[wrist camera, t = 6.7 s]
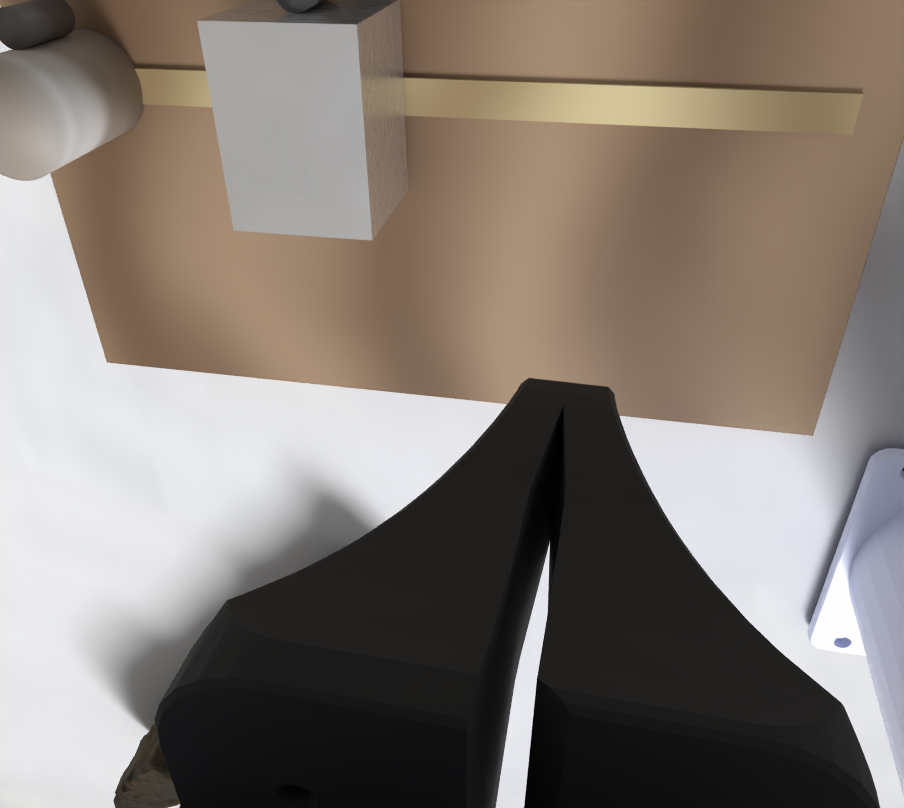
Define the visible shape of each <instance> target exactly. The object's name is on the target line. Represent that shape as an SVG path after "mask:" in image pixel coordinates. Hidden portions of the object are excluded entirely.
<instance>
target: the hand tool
mask: <svg viewBox="0 0 904 808" xmlns="http://www.w3.org/2000/svg"><path fill="white" fill-rule="evenodd" d="M115 793H116V796H115V798H114V804H115V808H168V807H172V806H176V805H179V804H180V802H179V799H178V796H177V794H176V791H175V788H174V785H173V782H172V779H171V776H170V773H169V771H168V768H167V765H166V762H165V759H164V756H163V753H162V751H161V748H160V745H159V742H158V739H157V732H156V725H153V726H152V727H151V730H150V731H149V732H148V734H147V735H145V736H144V737H143V738H142V740H141V741H140V744H139V747H138V749H137V752H136V754H135V756H134V757H133V759H132V760H131V762H130V764H129V766H128V767H127V769H126V770H125V771H124V773H123V775H122V777H121V779H120V781H119V784H118V786H117V789H116V792H115Z"/></svg>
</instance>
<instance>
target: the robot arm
mask: <svg viewBox="0 0 904 808" xmlns="http://www.w3.org/2000/svg"><path fill="white" fill-rule="evenodd" d="M903 468H904V449H897V448H886V449H883V450H880V451H877V452H876V453H875V454H873V455H872V456H871V458H870V459H869V461H868V464H867V467H866V470H865V472H864V475H863V478H862V481H861V483H860V486H859V489H858V492H857V495H856V497H855V500H854V503H853V506H852V508H851V511H850V514H849V517H848V520H847V522H846V525H845V528H844V531H843V533H842V536H841V539H840V542H839V544H838V547H837V550H836V553H835V556H834V558H833V561H832V564H831V567H830V569H829V572H828V575H827V578H826V580H825V583H824V586H823V589H822V592H821V594H820V597H819V600H818V603H817V605H816V608H815V611H814V614H813V617H812V619H811V622H810V625H809V628H808V637H809V641H810V643H811V644H812V645H813V646H815V647H816V648H820V649H824V650H831V651H837V652H844V653H851V654H858V655H865V656H866V658H867V661H868V665H869V669H870V672H871V676H872V680H873V684H874V687H875V691H876V695H877V698H878V702H879V706H880V709H881V713H882V717H883V721H884V724H885V728H886V732H887V735H888V739H889V743H890V747H891V750H892V754H893V758H894V761H895V765H896V769H897V772H898V776H899V780H900V784H901V787H902V791H903V795H904V471H902V469H903ZM549 542H550V561H549V592H548V616H547V622H546V628H545V634H544V640H543V646H542V653H541V659H540V665H539V671H538V677H537V686H536V696H535V706H534V716H533V726H532V736H531V746H530V756H529V766H528V776H527V786H526V796H525V806H524V808H880V806H879V801H878V796H877V792H876V788H875V785H874V782H873V779H872V775H871V772H870V769H869V767H868V764H867V762H866V759H865V756H864V754H863V751H862V748H861V746H860V743H859V741H858V738H857V736H856V734H855V731H854V729H853V726H852V724H851V722H850V719H849V717H848V715H847V713H846V710H845V708H844V706H843V705H842V703H841V702H840V701H838V700H837V699H836V698H835V697H834V696H832V695H831V694H830V693H829V692H828V691H826V690H825V689H824V688H823V687H822V686H820V685H819V684H818V683H817V682H816V681H814V680H813V679H812V678H811V677H810V676H808V675H807V674H806V673H805V672H804V671H802V670H801V669H800V668H799V667H798V666H796V665H795V664H794V663H793V662H792V661H790V660H789V659H788V658H787V657H785V656H784V655H783V654H782V653H781V652H780V651H779V650H778V649H777V648H775V647H774V646H773V645H772V644H771V643H770V642H769V641H768V640H767V639H766V638H765V637H764V636H763V635H762V634H761V633H760V632H759V631H758V630H757V629H756V628H755V627H754V626H753V625H752V624H751V623H750V622H749V621H748V620H747V619H746V618H745V617H744V616H743V615H742V614H741V613H740V611H739V610H738V609H737V608H736V607H735V606H734V605H733V604H732V603H731V601H730V600H729V599H728V598H727V597H726V596H725V595H724V594H723V593H722V591H721V590H720V589H719V588H718V587H717V586H716V585H715V584H714V582H713V581H712V580H711V579H710V577H709V576H708V575H707V574H706V572H705V571H704V570H703V568H702V567H701V566H700V564H699V563H698V562H697V561H696V559H695V558H694V557H693V555H692V554H691V553H690V551H689V550H688V548H687V547H686V545H685V544H684V543H683V541H682V540H681V538H680V537H679V535H678V534H677V532H676V531H675V529H674V528H673V526H672V525H671V523H670V522H669V520H668V518H667V517H666V515H665V513H664V512H663V510H662V508H661V507H660V505H659V503H658V501H657V499H656V498H655V496H654V494H653V492H652V491H651V489H650V487H649V485H648V483H647V481H646V479H645V477H644V475H643V473H642V471H641V469H640V466H639V464H638V462H637V460H636V458H635V456H634V454H633V451H632V449H631V447H630V444H629V442H628V439H627V437H626V434H625V431H624V428H623V426H622V423H621V420H620V417H619V413H618V410H617V405H616V401H615V394H614V393H613V392H612V390H611V389H610V388H609V387H606V386H597V385H588V384H579V383H571V382H562V381H553V380H544V379H535V378H528V379H526V380H525V381H524V382H522V383H521V384H520V386H519V388H518V389H517V391H516V392H515V394H514V395H513V397H512V398H511V400H510V401H509V403H508V404H507V405H506V407H505V408H504V409H503V410H502V412H501V413H500V414H499V416H498V417H497V418H496V419H495V421H494V422H493V423H492V424H491V425H490V426H489V428H488V429H487V430H486V431H485V432H484V433H483V434H482V435H481V437H480V438H479V439H478V440H477V441H476V442H475V443H474V445H473V446H472V447H471V448H470V449H469V450H468V451H467V452H466V453H465V454H464V455H463V456H462V457H461V458H460V459H459V460H458V461H457V462H456V463H455V464H454V465H453V466H452V467H451V468H450V469H449V470H448V471H447V472H446V473H445V474H444V475H443V476H442V477H440V478H439V479H438V480H437V481H436V482H435V483H434V484H433V485H431V486H430V487H429V488H428V489H427V490H426V491H424V492H423V493H422V494H421V495H420V496H418V497H417V498H416V499H415V500H413V501H412V502H411V503H410V504H408V505H407V506H406V507H404V508H403V509H402V510H400V511H399V512H398V513H396V514H395V515H394V516H392V517H391V518H389V519H388V520H386V521H385V522H383V523H382V524H381V525H379V526H378V527H376V528H375V529H373V530H372V531H370V532H369V533H367V534H366V535H364V536H363V537H361V538H359V539H358V540H356V541H355V542H353V543H351V544H350V545H348V546H346V547H344V548H342V549H341V550H339V551H337V552H335V553H333V554H331V555H330V556H328V557H326V558H324V559H322V560H320V561H318V562H316V563H314V564H312V565H310V566H308V567H306V568H304V569H302V570H300V571H298V572H295V573H293V574H291V575H289V576H286V577H284V578H282V579H279V580H277V581H274V582H272V583H270V584H267V585H265V586H262V587H260V588H257V589H255V590H253V591H250V592H248V593H245V594H243V595H240V596H238V597H235V598H232V599H229V600H228V601H226V603H225V604H224V605H223V607H222V608H221V610H220V611H219V612H218V614H217V615H216V616H215V618H214V619H213V620H212V622H211V623H210V624H209V625H208V626H207V628H206V629H205V630H204V632H203V633H202V635H201V636H200V638H199V639H198V640H197V642H196V643H195V645H194V646H193V648H192V649H191V651H190V653H189V654H188V656H187V658H186V659H185V661H184V663H183V665H182V666H181V668H180V670H179V672H178V673H177V675H176V677H175V678H174V680H173V682H172V684H171V685H170V687H169V689H168V690H167V692H166V694H165V696H164V697H163V699H162V701H161V702H160V705H159V708H158V711H157V714H156V717H155V725H156V732H157V739H158V742H159V745H160V748H161V751H162V753H163V756H164V759H165V762H166V765H167V768H168V771H169V773H170V776H171V779H172V782H173V785H174V788H175V791H176V794H177V796H178V799H179V802H180V805H181V806H180V808H495V807H496V801H497V794H498V787H499V781H500V774H501V767H502V761H503V754H504V748H505V741H506V735H507V728H508V722H509V715H510V709H511V702H512V696H513V689H514V683H515V678H516V673H517V669H518V664H519V659H520V655H521V651H522V647H523V643H524V640H525V636H526V632H527V628H528V624H529V620H530V616H531V612H532V609H533V605H534V601H535V597H536V593H537V589H538V586H539V582H540V578H541V574H542V570H543V566H544V562H545V558H546V554H547V550H548V546H549ZM839 637H844V638H839Z"/></svg>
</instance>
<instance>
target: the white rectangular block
mask: <svg viewBox="0 0 904 808" xmlns="http://www.w3.org/2000/svg"><path fill="white" fill-rule="evenodd" d="M197 23H198V29H199V35H200V40H201V46H202V52H203V57H204V63H205V69H206V75H207V80H208V86H209V92H210V97H211V103H212V109H213V115H214V120H215V126H216V132H217V138H218V143H219V149H220V155H221V160H222V166H223V172H224V178H225V183H226V189H227V195H228V200H229V206H230V212H231V218H232V223H233V229H234V231H245V232H259V233H273V234H287V235H301V236H315V237H329V238H343V239H358V240H373V239H374V237H375V236H376V235H377V233H378V232H379V230H380V229H381V228H382V226H383V225H384V223H385V222H386V221H387V219H388V218H389V216H390V215H391V214H392V212H393V211H394V209H395V208H396V206H397V205H398V204H399V202H400V201H401V199H402V198H403V197H404V195H405V194H406V192H407V191H408V173H407V150H406V127H405V104H404V81H403V58H402V35H401V12H400V0H251V1H248V2H246V3H243V4H240V5H238V6H235V7H232V8H230V9H227V10H224V11H222V12H219V13H216V14H214V15H211V16H208V17H206V18H203V19H200V20H198V21H197Z"/></svg>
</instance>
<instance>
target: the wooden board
mask: <svg viewBox="0 0 904 808" xmlns="http://www.w3.org/2000/svg"><path fill="white" fill-rule="evenodd" d="M248 1H251V0H0V6H1V8H0V40H1V42H2V43H3V44H5V45H6V46H7V47H9V48H11V49H12V50H9V51H6V52H3V53H0V174H2V175H4V176H6V177H9V178H12V179H16V180H22V181H30V180H36V179H39V178H42V177H44V176H45V175H47V174H49V173H51V177H52V180H53V183H54V187H55V190H56V193H57V197H58V200H59V203H60V207H61V210H62V214H63V217H64V220H65V224H66V227H67V230H68V234H69V237H70V240H71V244H72V247H73V250H74V254H75V257H76V260H77V264H78V267H79V270H80V274H81V277H82V280H83V284H84V287H85V290H86V294H87V297H88V301H89V304H90V307H91V311H92V314H93V317H94V321H95V324H96V327H97V331H98V334H99V337H100V341H101V344H102V347H103V351H104V354H105V357H106V361H107V362H109V363H118V364H128V365H138V366H147V367H157V368H166V369H176V370H186V371H195V372H205V373H215V374H224V375H234V376H243V377H253V378H263V379H272V380H282V381H292V382H301V383H311V384H320V385H330V386H340V387H349V388H359V389H369V390H378V391H388V392H397V393H407V394H417V395H426V396H436V397H446V398H455V399H465V400H475V401H484V402H494V403H503V404H508V403H509V401H510V400H511V398H512V397H513V395H514V394H515V392H516V391H517V389H518V388H519V386H520V384H521V383H522V382H524V381H525V380H526V379H528V378H535V379H544V380H553V381H562V382H571V383H579V384H588V385H597V386H606V387H609V388H610V389H611V390H612V392H613V393H614V394H615V401H616V405H617V410H618V413H619V416H629V417H638V418H648V419H657V420H667V421H677V422H686V423H696V424H706V425H715V426H725V427H734V428H744V429H754V430H763V431H773V432H783V433H792V434H802V435H812V436H813V434H814V430H815V427H816V424H817V421H818V417H819V414H820V411H821V407H822V404H823V401H824V398H825V394H826V391H827V388H828V384H829V381H830V378H831V374H832V371H833V368H834V365H835V361H836V358H837V355H838V351H839V348H840V345H841V342H842V338H843V335H844V332H845V328H846V325H847V322H848V318H849V315H850V312H851V309H852V305H853V302H854V299H855V295H856V292H857V289H858V286H859V282H860V279H861V276H862V272H863V269H864V266H865V262H866V259H867V256H868V253H869V249H870V246H871V243H872V239H873V236H874V233H875V230H876V226H877V223H878V220H879V216H880V213H881V210H882V207H883V203H884V200H885V197H886V193H887V190H888V187H889V183H890V180H891V177H892V174H893V170H894V167H895V164H896V160H897V157H898V154H899V151H900V147H901V144H902V141H903V137H904V0H400V12H401V35H402V58H403V81H404V104H405V127H406V150H407V173H408V191H407V192H406V194H405V195H404V197H403V198H402V199H401V201H400V202H399V204H398V205H397V206H396V208H395V209H394V211H393V212H392V214H391V215H390V216H389V218H388V219H387V221H386V222H385V223H384V225H383V226H382V228H381V229H380V230H379V232H378V233H377V235H376V236H375V237H374V239H373V240H358V239H343V238H329V237H315V236H301V235H287V234H273V233H259V232H245V231H234V229H233V223H232V218H231V212H230V206H229V200H228V195H227V189H226V183H225V178H224V172H223V166H222V160H221V155H220V149H219V143H218V138H217V132H216V126H215V120H214V115H213V109H212V103H211V97H210V92H209V86H208V80H207V75H206V69H205V63H204V57H203V52H202V46H201V40H200V35H199V29H198V23H197V21H198V20H200V19H203V18H206V17H208V16H211V15H214V14H216V13H219V12H222V11H224V10H227V9H230V8H232V7H235V6H238V5H240V4H243V3H246V2H248Z"/></svg>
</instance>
